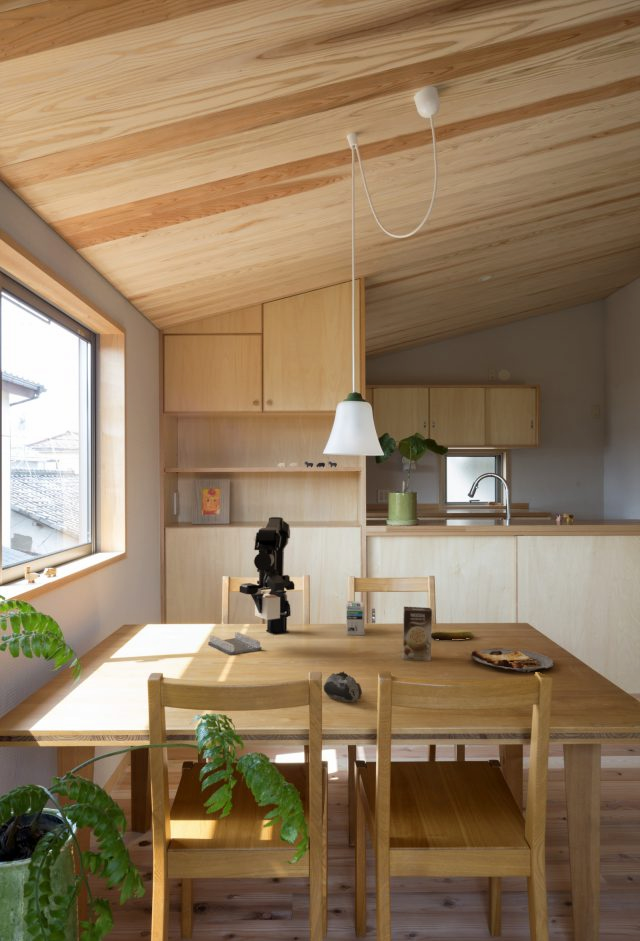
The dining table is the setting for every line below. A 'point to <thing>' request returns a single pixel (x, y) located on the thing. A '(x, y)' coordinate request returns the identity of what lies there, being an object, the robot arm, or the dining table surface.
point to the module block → (269, 607)
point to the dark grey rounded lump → (342, 687)
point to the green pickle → (451, 635)
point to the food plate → (511, 659)
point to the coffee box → (417, 633)
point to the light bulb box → (355, 618)
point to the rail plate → (235, 644)
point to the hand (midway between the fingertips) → (267, 612)
